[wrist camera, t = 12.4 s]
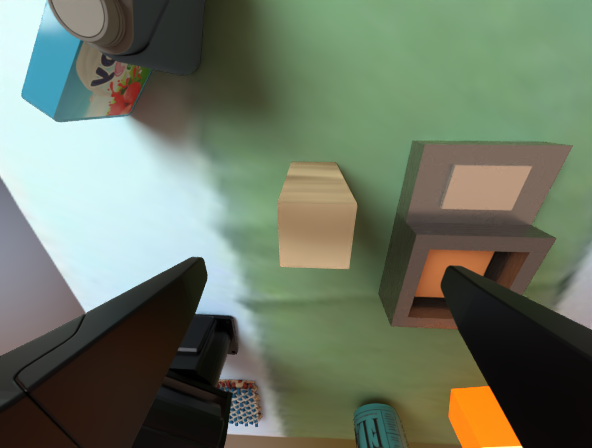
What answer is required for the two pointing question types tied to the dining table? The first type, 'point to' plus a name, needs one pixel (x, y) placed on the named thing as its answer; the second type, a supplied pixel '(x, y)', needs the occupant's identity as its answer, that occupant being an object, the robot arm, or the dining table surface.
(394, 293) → the box
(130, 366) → the robot arm
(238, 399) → the woven mat
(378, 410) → the beverage bottle
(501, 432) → the orange juice
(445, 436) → the dining table surface
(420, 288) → the button
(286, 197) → the tan wooden block
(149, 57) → the vaping device
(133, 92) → the yogurt
